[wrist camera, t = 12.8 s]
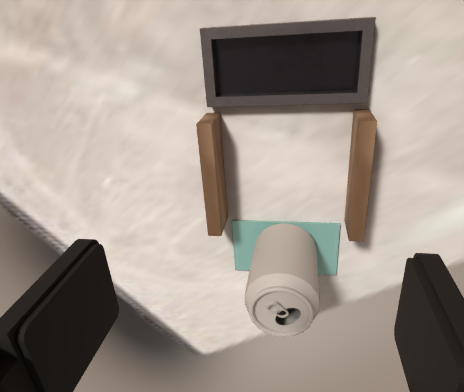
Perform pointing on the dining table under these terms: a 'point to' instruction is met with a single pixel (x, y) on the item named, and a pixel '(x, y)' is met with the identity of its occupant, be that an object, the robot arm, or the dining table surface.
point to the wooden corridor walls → (357, 172)
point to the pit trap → (288, 63)
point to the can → (283, 281)
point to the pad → (320, 232)
